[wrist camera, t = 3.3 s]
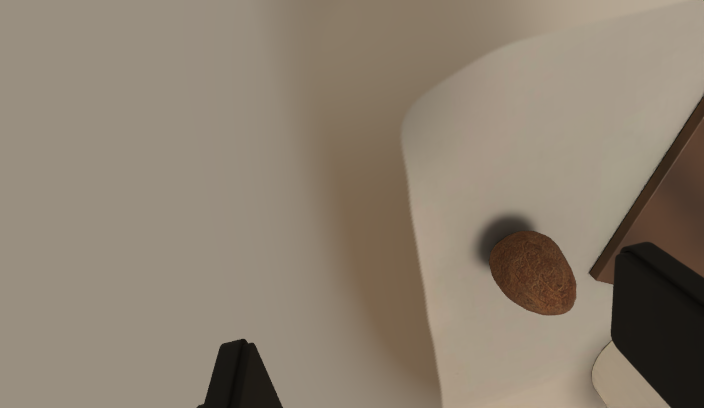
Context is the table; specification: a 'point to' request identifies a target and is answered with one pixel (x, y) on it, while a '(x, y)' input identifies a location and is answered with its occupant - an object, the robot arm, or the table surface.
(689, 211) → the walnut board
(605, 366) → the bottle
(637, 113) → the table surface
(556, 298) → the coconut
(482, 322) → the table surface
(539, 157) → the table surface
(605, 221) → the table surface
